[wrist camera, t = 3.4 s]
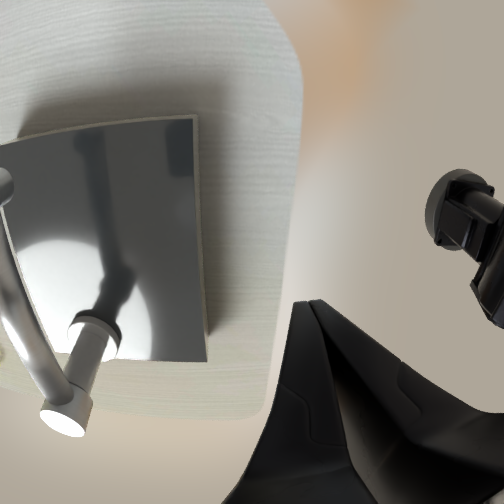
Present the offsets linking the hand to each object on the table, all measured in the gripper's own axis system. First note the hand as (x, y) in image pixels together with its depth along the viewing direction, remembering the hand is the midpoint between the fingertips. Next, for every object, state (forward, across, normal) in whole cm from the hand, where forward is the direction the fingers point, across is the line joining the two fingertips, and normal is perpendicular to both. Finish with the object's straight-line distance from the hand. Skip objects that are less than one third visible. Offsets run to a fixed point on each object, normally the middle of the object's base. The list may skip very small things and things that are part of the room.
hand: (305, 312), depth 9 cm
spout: (+5, +13, +3) cm, 15 cm away
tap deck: (+13, +11, +4) cm, 18 cm away
